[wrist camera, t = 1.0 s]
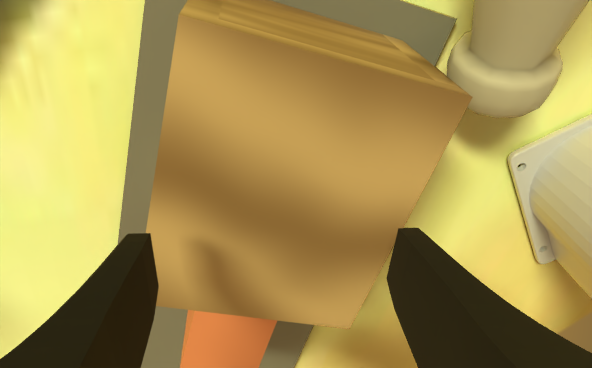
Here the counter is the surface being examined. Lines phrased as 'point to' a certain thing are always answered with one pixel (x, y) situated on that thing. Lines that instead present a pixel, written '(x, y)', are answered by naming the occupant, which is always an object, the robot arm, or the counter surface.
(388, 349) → the counter surface
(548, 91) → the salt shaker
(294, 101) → the oak crate
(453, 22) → the slate board
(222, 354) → the vermilion block
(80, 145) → the counter surface
